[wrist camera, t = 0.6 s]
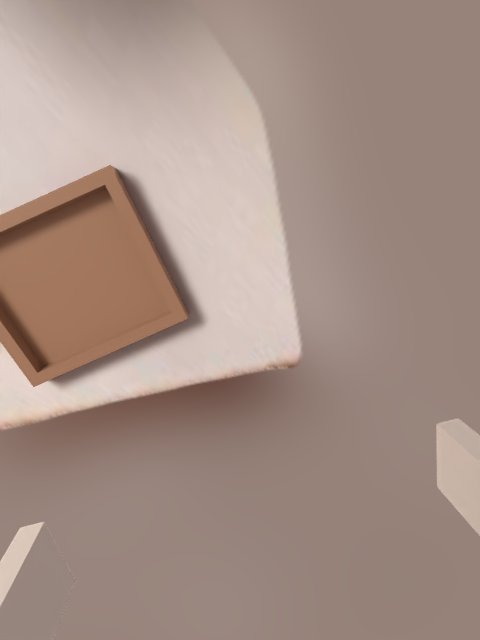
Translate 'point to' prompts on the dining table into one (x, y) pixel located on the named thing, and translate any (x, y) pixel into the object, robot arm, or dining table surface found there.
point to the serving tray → (80, 278)
